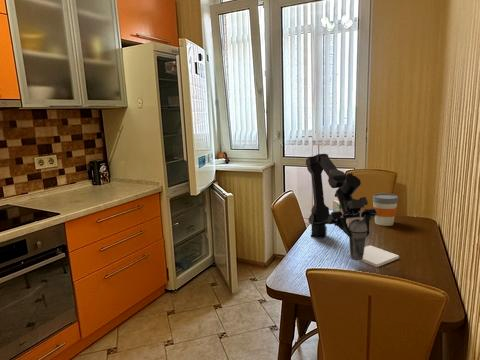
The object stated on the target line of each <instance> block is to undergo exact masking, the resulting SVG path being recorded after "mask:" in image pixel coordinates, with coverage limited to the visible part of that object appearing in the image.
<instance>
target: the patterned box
mask: <svg viewBox="0 0 480 360" xmlns="http://www.w3.org/2000/svg"><path fill="white" fill-rule="evenodd" d="M339 206H340V203H339V201H338V199H332V212H337V211H340V212H342V209H340V208H339ZM342 214H343V212H342ZM356 219H359V218H350V219H346V223H347V225H348V227H349V224H350V223H351V222H352V221H353V220H356Z"/></svg>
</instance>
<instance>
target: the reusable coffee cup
mask: <svg viewBox="0 0 480 360" xmlns="http://www.w3.org/2000/svg"><path fill="white" fill-rule="evenodd" d="M372 203H373V205H372V208H374V209H375V210H376V212H377V215H376V216H375V217H374V223H375V224H376V225H379V226H384V227H389V226H393V225H394V221H395V217H396V215H397V210H398V203H399V196H398V195H396V194H393V193H374V194H373V195H372Z"/></svg>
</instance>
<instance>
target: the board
mask: <svg viewBox="0 0 480 360" xmlns="http://www.w3.org/2000/svg"><path fill="white" fill-rule="evenodd" d="M347 256H349V257H351V254H350V251H349V252H348V255H347ZM398 259H400V256H399V255H398V254H395V253H392V252H390V251H386V250H384V249H382V248H378V247H376V246H373V245H366V246H365V247H364V255H363V259H362V260H360V261H361V262H364V263H366V264H368V265H371V266H373V267H375V268H379V267H381V266H384V265H386V264H388V263H391V262H394V261H396V260H398Z"/></svg>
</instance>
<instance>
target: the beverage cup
mask: <svg viewBox="0 0 480 360" xmlns="http://www.w3.org/2000/svg"><path fill="white" fill-rule="evenodd" d="M362 212H363V208H361V210H360V211H359V213H360V217H359V219H356V220H353V221H352V222H351V223H350V224H349V227H348V228H349V230H350V233H351V237H349V236H348V239H349V252H350V254H351V256H350V259H351V260H354V261H361V260H362V259H363V255H364V247H366V240H367V239H366V238H367V236H368V235H367V232H368V230H367V225H366V224H365V223H364V222H363V221H362V219H361V213H362Z"/></svg>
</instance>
